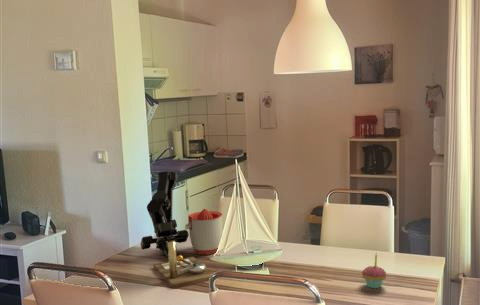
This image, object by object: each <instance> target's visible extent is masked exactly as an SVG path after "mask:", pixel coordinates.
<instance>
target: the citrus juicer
mask: <svg viewBox="0 0 480 305" xmlns="http://www.w3.org/2000/svg"><path fill="white" fill-rule="evenodd" d="M184 230H189V231H188V232H189V239H190V244H191V246H192V249H193V251H194V253H195V254H199V256H200V255H202V256H203V255H211V254H215V252H216V251H217V249H218V245H219V242H220V238H221V234H222V232H223V213H222V212H220V211H214V210H212V211H211V210H208V209H206V208H203V209H202V210H201V211H198V212H197V211H196V212H191V213H190V214H188V223H186V224H185V226H184Z"/></svg>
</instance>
